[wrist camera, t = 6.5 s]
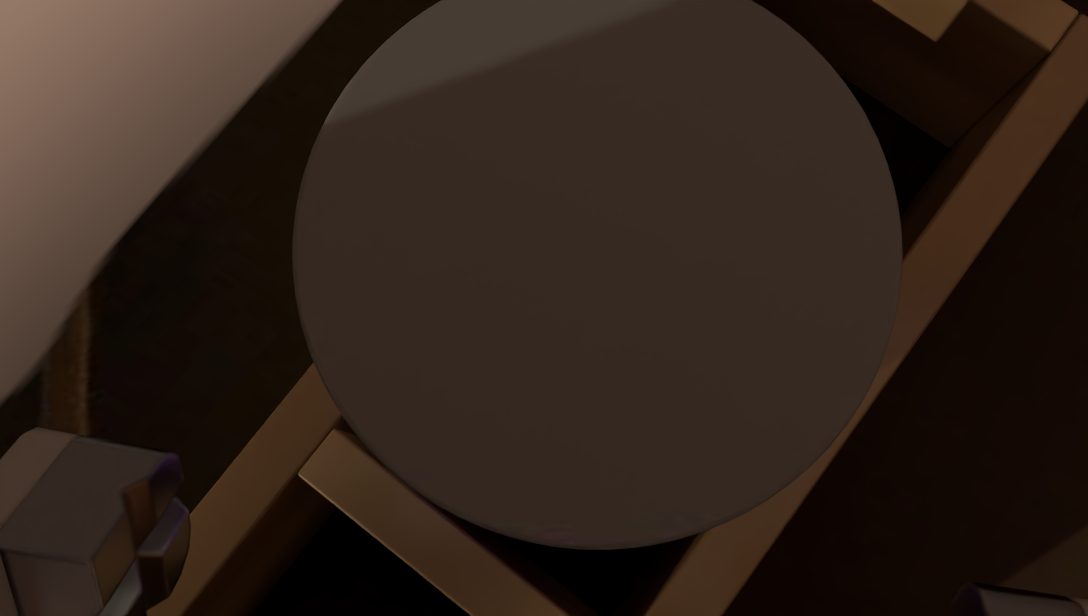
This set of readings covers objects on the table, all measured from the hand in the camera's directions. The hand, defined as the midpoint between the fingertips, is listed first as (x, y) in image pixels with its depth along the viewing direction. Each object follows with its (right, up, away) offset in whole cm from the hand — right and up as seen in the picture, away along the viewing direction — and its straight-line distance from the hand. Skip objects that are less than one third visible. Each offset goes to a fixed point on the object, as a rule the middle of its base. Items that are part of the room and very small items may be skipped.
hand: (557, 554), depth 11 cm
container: (+1, 0, +12) cm, 12 cm away
